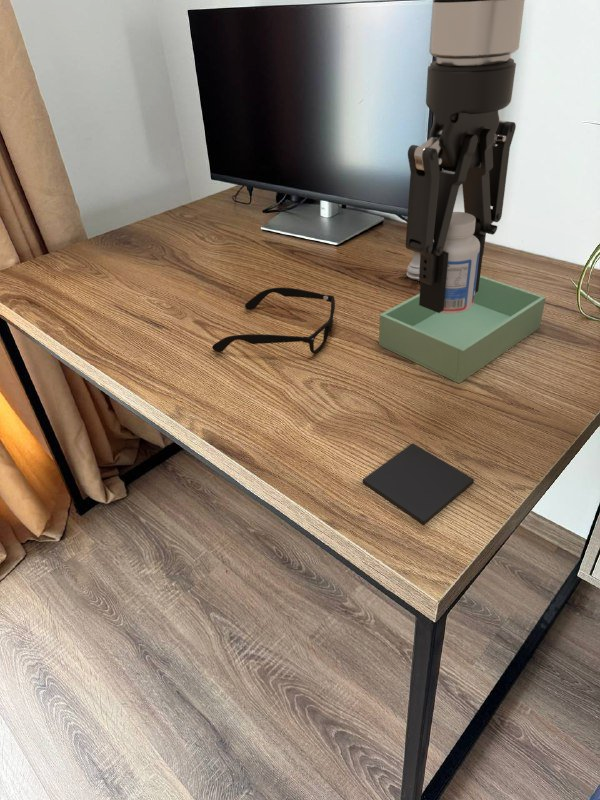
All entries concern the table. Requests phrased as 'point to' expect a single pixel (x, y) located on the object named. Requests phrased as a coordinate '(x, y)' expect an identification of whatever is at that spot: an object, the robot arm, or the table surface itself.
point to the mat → (418, 482)
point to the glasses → (280, 338)
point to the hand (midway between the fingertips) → (449, 297)
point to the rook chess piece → (414, 267)
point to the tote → (462, 329)
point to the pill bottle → (461, 263)
